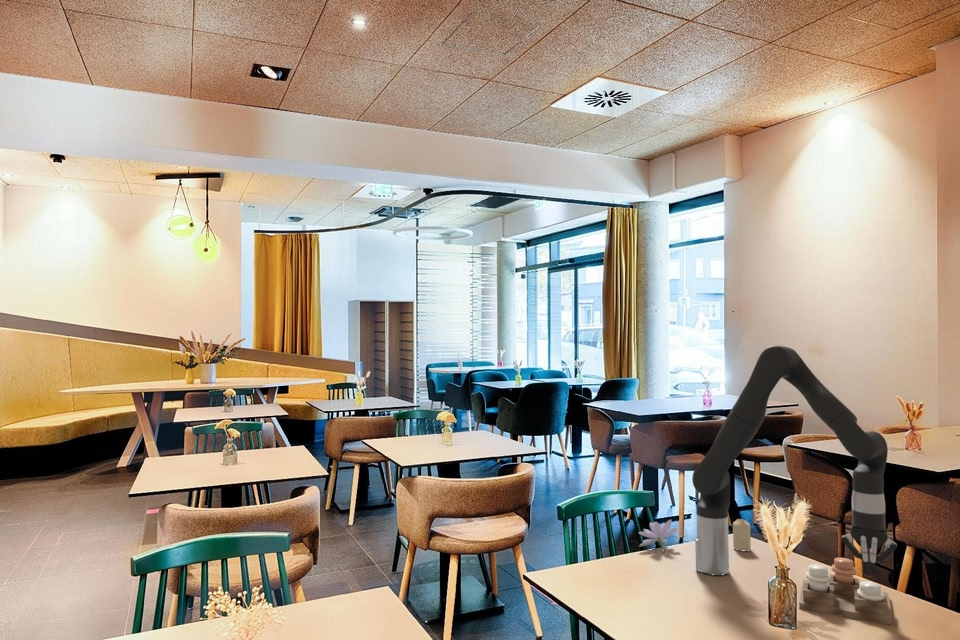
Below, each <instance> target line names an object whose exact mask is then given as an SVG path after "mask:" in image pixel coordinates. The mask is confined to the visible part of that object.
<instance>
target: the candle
mask: <svg viewBox="0 0 960 640" xmlns="http://www.w3.org/2000/svg"><path fill="white" fill-rule="evenodd" d="M732 537H733V538H732V541H733V542H732V543H733V544H732V546H733V547H734V548H735V549H738V550H745V551H748V550H750V551H751V550H752V543H751V524H750V523H749V522H748V521H747V520H745V519H743V518H737V519H736V520H735V521H733V523H732ZM734 548H733V549H734ZM735 549H734V550H735ZM748 552H749V551H748Z"/></svg>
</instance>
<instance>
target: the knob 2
mask: <svg viewBox="0 0 960 640" xmlns="http://www.w3.org/2000/svg"><path fill="white" fill-rule="evenodd" d="M859 588H860V589H858V590H857V595H858V596H859V597H861V598H862V599H866V600H870V601H880V602H881V601H883V600H884V594H883V593H882V592H883V591H882V588H881V585H880V584H879V583H875V582H871V581H861V582H860V581H859Z"/></svg>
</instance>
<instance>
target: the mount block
mask: <svg viewBox="0 0 960 640" xmlns="http://www.w3.org/2000/svg"><path fill="white" fill-rule="evenodd" d="M829 575H830V576H831V582H828V591H827V592H819V591H813V590H811V589H810V587H809V579H803V580H802V584H801V585H802V586H801V590H800V595H799V596H800V597H799V602H798V606H799V607H798V608H799V609H801V610H807V611H812V612H818V613H823V614H829V615H835V616H840V617H847V618H851V619H857V620H863V621H867V620H868V622H873V621H874V622H873V623H879V624H884V623H885V624H884V625H889V624H890V626H893V623H894V621H893V620H894V619H893V615H892V608H891V602H890V596H889V592H885V591H881V592H882V593H883V594H884V600H883V601H881V602H880V601H870V600H866V599H862V598H861V597H859V596H858V595H857V590H858V589H860V578H858V577H853V584H844V583H838V582H836V581H835V574H834V573H833V574H832V573H830V574H829Z"/></svg>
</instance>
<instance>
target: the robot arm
mask: <svg viewBox="0 0 960 640" xmlns="http://www.w3.org/2000/svg"><path fill="white" fill-rule="evenodd" d="M781 379H784V380H785V381H786V382H788V383H789V384H791V385H792V386H793V387H794V388H795V389H796V390H797V391H799V392H800V394H801V395H802V396H803V397H804V399H805V400H806V403H807V404H808V405H809V406H810V407H809V408H810V409H811V410H813V412H814V414H816V416H817V417H818V418H819V419H820V420H821V421H822V422H823V423H824V424H825V425H826V426H827V427H828V429H830V430H832V432H833V433H834V434H835V436H836V437H837V439H838V440H839V442H840V443H841V445H842V446H843V447H844V449H845V450H846V451H847V452H848V454H850V455H851V456H852V457H854V458H855V459H857V460H858V461H857V462H858V463H857V465H856V466H857V467H855V469H854V470H853V471H852V493H851V505H850V506H851V527H850V529H849V533H847V534H843V535H842V536H841V541H842V542H843V543H844V545H845V546H846V548H848V549H849V551H850V552H851V554H852V555H853V556H854V557H855V558H856V559H860V560H861V561H862V573H863V574H865V576H866V577H870V578H873V576H875V575H876V564H877V563H878V562H879V563H881V562H884V561H886V559H887V558H888V557H889V556H891V554H893V552H894V551H895V550H897V548H898V545H897V542H895V541H892V539H890V538H889V536H888V533H887V530H886V501H885V489H884V488H885V486H884V485H885V484H884V483H885V481H884V474H885V471H886V464H887V460H888V450H889V449H888V443H887V441H886V439H885V437H884V436H883V435H882V434H881V433H879V432H877V431H872V430H871V431H864V430H863V428H861V427H860V425H859V424H858V423H857V422H858V418H857V416H856V415H855V414H854V412H853V411H851V410H850V409H849V408H848V407H847V406H846V405H845V404H844V403H843V402H842V401H841V400H839V398H837V396H835V395H834V393H832V392H831V390H829V389H828V388H827V387H826V386H825V385H824V384H823V383H822V382H821V381H820V379H818V378H817V376H816V375H815V374H814V372H812V371H811V369H810V368H809V367H808V365H807V364H806V363H805V361H804V360H803V358H802V357H801V356H800V355H799V354H798V352H797V351H796V350H794V349H793V348H791V347H789V346H784V345H776V344H775V345H774V344H773V345H771V346H768V347H766V348H765V349H763V350H762V352H761V353H760V355H759V356H758V358H757V361H756V363H755V366H754V367H753V370H752V372H751V374H750V377H749V378H748V382H747V383H746V385H745V386H744V388H743V390H742V391H741V393H740V395H739V397H738V398H737V400H736V401H735V403H734V405H732V408H731V409H730V411H729V413H728V414H727V416H726V418H725V420H724V422H723V424H722V426H721V428H720V429H719V430H718V433H717V435H716V437H715V439H714V442H713V443H712V446H711V447H710V448H709V450H708V452H707V453H706V454H705V456H704V457H703V458H702V460H701V461H700V462H699V464H698V465H697V466H696V468H695V469H694V470H693V472H692V479H691V481H692V484H693V487H694V489H695V491H697V492H698V493H699V499H698V502H697V503H696V506H695V508H696V511H695V513H696V539H695V544H694V545H695V571H696V570H700V571H702V572H704V573H708V574H714V575H722V574H727V573H728V572H730V564H729V561H730V560H729V559H730V557H729V554H730V553H729V508H730V504H731V478H730V477H731V476H730V473H729V469H730V466H731V465H732V463H733V462H734V461H735V460H736V458H737V457H738V456H739V455H740V454H741V453H742V452H743V451H744V450H745V449H746V447H747V446H748V445H749V444H750V443H751V441H752V440H753V439H754V437H755V436H756V434H757V433H758V431H759V429H760V428H761V426H762V425H763V421H764V419H765V417H766V412H767V408H768V403H769V398H770V396H771V394H772V391H773V390H774V389H775V387H776V386H777V384H778V382H779V381H780V380H781ZM853 540H854V541H855V542H856V543H857V545H858V546H859V547H861V552H860V550H858V548H857V547H856V546H855V545H854V544H853ZM884 544H885V548H884V549H883V550H882V551H881V552H879V554H877V550H878V549H880V548H881V547H882V546H883V545H884ZM868 549H870V550H869V552H870V553H869V555H868ZM702 572H701V573H702ZM704 573H703V574H704ZM708 574H707V575H708ZM728 574H729V573H728ZM728 574H727V575H728ZM714 575H713V576H714ZM722 576H723V575H722Z"/></svg>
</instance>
